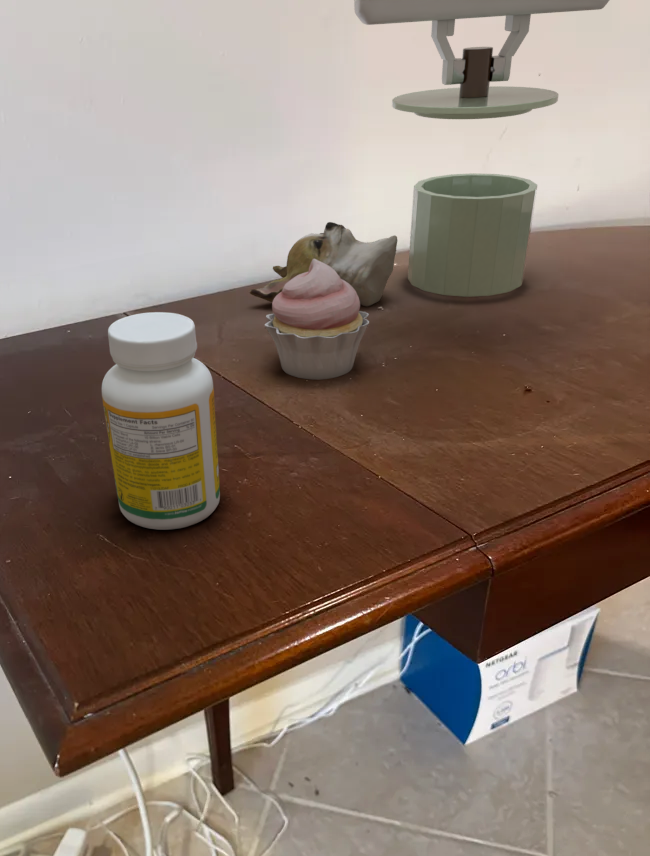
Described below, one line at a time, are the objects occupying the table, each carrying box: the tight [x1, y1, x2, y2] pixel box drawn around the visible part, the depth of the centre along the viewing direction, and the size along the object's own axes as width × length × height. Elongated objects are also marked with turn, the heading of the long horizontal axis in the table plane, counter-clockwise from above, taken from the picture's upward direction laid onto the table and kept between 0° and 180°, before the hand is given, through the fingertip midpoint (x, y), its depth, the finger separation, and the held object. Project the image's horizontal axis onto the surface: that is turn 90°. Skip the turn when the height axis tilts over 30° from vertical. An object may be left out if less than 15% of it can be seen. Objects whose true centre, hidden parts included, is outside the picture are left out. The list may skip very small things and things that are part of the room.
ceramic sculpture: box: [248, 221, 398, 307], centre depth 87 cm, size 11×9×15 cm
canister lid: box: [391, 46, 559, 120], centre depth 68 cm, size 14×14×5 cm
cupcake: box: [264, 259, 370, 381], centre depth 71 cm, size 9×9×10 cm
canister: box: [407, 172, 538, 298], centre depth 90 cm, size 13×13×10 cm
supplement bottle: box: [101, 311, 221, 531], centre depth 52 cm, size 7×7×13 cm
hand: (474, 82), depth 68 cm, fingers closed on canister lid, 2 cm apart
